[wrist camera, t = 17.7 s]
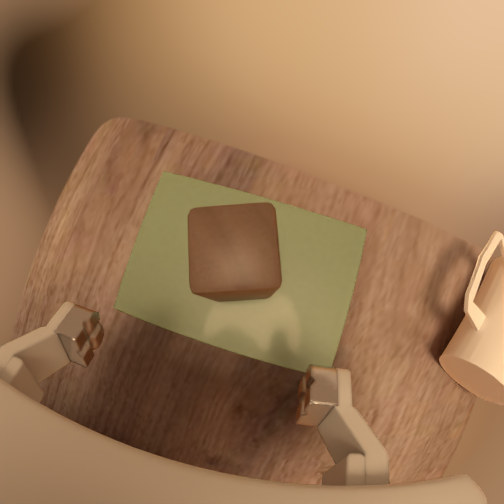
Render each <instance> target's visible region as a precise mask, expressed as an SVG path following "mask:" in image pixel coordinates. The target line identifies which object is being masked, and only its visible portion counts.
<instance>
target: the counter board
mask: <svg viewBox="0 0 504 504" xmlns="http://www.w3.org/2000/svg"><path fill="white" fill-rule="evenodd" d="M259 202H268V203H272V204H273V206H274V208H275V209H276V218H277V228H278V239H279V250H280V261H281V273H282V283H281V286H280V288H279V289H278V290H277V291H276V292H275V293H274V294H273V295H272V296H271V297H269V298H267V299H257V300H242V301H227V302H217V301H214V300H211V299H208V298H205V297H201V296H198V295H196V294H193V293H192V291H191V289H190V285H189V259H188V214H189V212H190V210H191V209H193V208H196V207H206V206H218V205H231V204H244V203H259ZM366 233H367V229H364V228H361V227H358V226H355V225H352V224H349V223H346V222H343V221H340V220H337V219H333V218H330V217H327V216H324V215H321V214H318V213H314V212H311V211H308V210H305V209H301V208H298V207H295V206H292V205H288V204H285V203H281V202H278V201H275V200H271V199H268V198H264V197H261V196H257V195H254V194H250V193H246V192H243V191H239V190H236V189H232V188H228V187H224V186H221V185H217V184H213V183H209V182H205V181H201V180H197V179H193V178H190V177H185V176H181V175H177V174H173V173H169V172H165V171H163V173H162V176H161V178H160V180H159V183H158V185H157V187H156V190H155V192H154V194H153V197H152V199H151V202H150V204H149V207H148V209H147V212H146V214H145V217H144V220H143V222H142V225H141V227H140V230H139V233H138V235H137V238H136V241H135V244H134V246H133V249H132V252H131V255H130V258H129V261H128V264H127V267H126V270H125V273H124V276H123V279H122V282H121V285H120V288H119V291H118V295H117V298H116V301H115V305H114V309H117V310H119V311H122V312H124V313H126V314H129V315H131V316H134V317H136V318H139V319H141V320H144V321H146V322H149V323H151V324H154V325H156V326H159V327H162V328H164V329H167V330H169V331H172V332H175V333H178V334H180V335H183V336H186V337H189V338H192V339H194V340H197V341H200V342H203V343H206V344H209V345H212V346H215V347H218V348H221V349H224V350H227V351H231V352H234V353H237V354H240V355H243V356H247V357H250V358H253V359H257V360H260V361H264V362H267V363H271V364H274V365H278V366H282V367H285V368H289V369H293V370H297V371H301V372H305V373H306V369H307V367H308V365H310V364H313V365H321V366H328V367H332V364H333V361H334V358H335V354H336V351H337V348H338V345H339V341H340V338H341V335H342V331H343V328H344V324H345V321H346V317H347V313H348V310H349V306H350V302H351V298H352V295H353V291H354V287H355V283H356V279H357V274H358V270H359V266H360V261H361V257H362V252H363V248H364V243H365V238H366Z"/></svg>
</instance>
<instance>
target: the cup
mask: <svg viewBox="0 0 504 504" xmlns="http://www.w3.org/2000/svg"><path fill="white" fill-rule="evenodd" d="M498 244H499V246H500V249H501V253H502V257H499V258H497V259H495V260H494V261H493V262H492V263H491V264H490V267H489V269H488V271H487V273H486V275H485V278H484V280H483V282H482V284H481V286H480V288H479V290H478V292H477V289H478V287H479V284H480V281H481V278H482V275H483V272H484V269H485V266H486V263H487V261H488V260H489V258H490V257H491V255H492V253H493V252H494V250H495V249H496V247H497V245H498ZM476 292H477V294H476ZM475 295H476V296H475ZM464 312H465V314H466V315H465V317H464V319H463V320H462V322H461V324H460V326H459V327H458V329H457V331H456V332H455V334H454V336H453V337H452V339H451V341H450V342H449V344H448V346H447V347H446V349H445V350H444V352H443V353H442V355H441V356H440V358H439V362H440V364H441V366H442V368H443V369H444V370H445V372H446V373H447V374H448V375H449V376H450V377H451V378H452V379H454V380H455V381H456V382H457V383H458V384H460V385H461V386H462V387H464V388H465V389H466V390H468V391H470V392H471V393H473V394H474V395H476V396H478V397H480V398H482V399H484V400H486V401H489V402H491V403H494V404H498V405H504V236H503V234H501V233H500V232H498V231H494V233H493V234H492V236H491V238H490V239H489V241H488V242H487V244H486V246H485V247H484V249H483V250H482V252H481V253H480V255H479V257H478V260H477V263H476V266H475V269H474V271H473V274H472V277H471V280H470V282H469V285H468V288H467V290H466V293H465V301H464Z"/></svg>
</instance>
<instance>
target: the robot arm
mask: <svg viewBox="0 0 504 504" xmlns="http://www.w3.org/2000/svg"><path fill="white" fill-rule="evenodd" d="M99 320H100V316H99V313H98V312H96V311H93V310H90V309H88V308H85V307H82V306H80V305H77V304H75V303H72V302H69V301H66V302H64V303H63V304H62V306H61V307H60V308H59V309H58V311H57V312H56V313H55V315H54V316H53V317H52V318H51V320H50V321H49V322H48V324H47V325H46V326H45V327H43V326H42V327H40V328H37V329H35V330H33V331H31V332H29V333H27V334H25V335H23V336H20V337H18V338H16V339H14V340H12V341H10V342H8V343H6V344H4V345H2V346H0V504H487V500H486V496H485V494H484V493H483V491H482V490H481V489H480V487H479V486H478V485H477V484H476V483H475V482H474V480H473V479H472V478H471V477H470V476H469V475H466V474H458V475H453V476H448V477H442V478H436V479H429V480H422V481H415V482H406V483H395V484H389V460H388V452H387V450H386V449H385V448H384V446H383V445H382V443H381V442H380V441H379V439H378V438H377V436H376V435H375V434H374V432H373V431H372V429H371V428H370V427H369V425H368V424H367V422H366V421H365V419H364V418H363V417H362V415H361V414H360V412H359V411H358V410H357V408H353V403H352V386H351V372H350V370H349V369H341V368H335V367H328V366H321V365H313V364H310V365H308V367H307V369H306V375H304V376H303V377H302V379H301V382H300V385H299V390H298V400H299V402H300V404H299V406H298V407H297V412H296V424H299V425H306V426H314V427H317V429H318V431H319V433H320V435H321V437H322V439H323V441H324V443H325V445H326V447H327V449H328V451H329V453H330V454H331V456H332V458H333V460H334V462H335V464H336V465H334V466H333V467H332V468H330V469H329V470H327V471H326V472H325V473H323V476H322V485H313V484H299V483H288V482H278V481H270V480H263V479H256V478H249V477H243V476H238V475H232V474H227V473H222V472H218V471H213V470H209V469H205V468H200V467H196V466H192V465H189V464H185V463H181V462H178V461H174V460H171V459H168V458H164V457H161V456H158V455H155V454H152V453H149V452H146V451H143V450H140V449H137V448H135V447H132V446H129V445H127V444H124V443H121V442H119V441H116V440H114V439H112V438H109V437H107V436H104V435H102V434H100V433H97V432H95V431H93V430H91V429H89V428H86V427H84V426H82V425H80V424H78V423H76V422H74V421H72V420H70V419H68V418H66V417H64V416H62V415H60V414H58V413H56V412H55V411H53V410H51V409H49V408H47V407H46V406H44V405H42V404H40V402H41V400H42V398H43V396H44V391H43V390H42V388H41V387H40V386H39V384H38V383H40V382H41V381H43V380H44V379H46V378H47V377H49V376H50V375H52V374H53V373H55V372H56V371H58V370H59V369H61V368H62V367H64V366H65V365H67V364H68V363H70V361H71V362H74V363H76V364H79V365H81V366H84V367H86V368H87V367H88V365H89V363H90V362H91V360H92V358H93V356H94V352H93V350H95V349H97V348H99V346H100V344H101V343H102V340H103V336H104V329H103V326H102V325H101V324H100V322H99Z"/></svg>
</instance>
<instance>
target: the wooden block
mask: <svg viewBox="0 0 504 504" xmlns="http://www.w3.org/2000/svg"><path fill="white" fill-rule="evenodd" d="M188 259H189V285H190V289H191V291H192V293H193V294H196V295H198V296H201V297H205V298H208V299H211V300H214V301H217V302H227V301H242V300H257V299H267V298H269V297H271V296H272V295H273V294H274V293H275V292H276V291H277V290H278V289H279V288H280V286H281V283H282V273H281V261H280V250H279V239H278V228H277V218H276V209H275V208H274V206H273V204H272V203H268V202H259V203H244V204H231V205H218V206H206V207H196V208H193V209H191V210H190V212H189V214H188Z"/></svg>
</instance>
